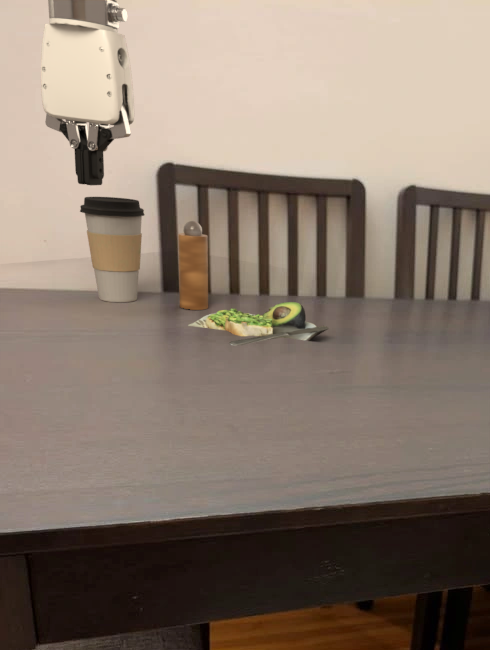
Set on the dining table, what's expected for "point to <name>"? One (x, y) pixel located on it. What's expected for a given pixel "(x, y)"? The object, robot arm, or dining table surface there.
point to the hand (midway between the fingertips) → (90, 184)
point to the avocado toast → (263, 324)
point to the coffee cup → (114, 245)
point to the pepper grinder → (193, 267)
